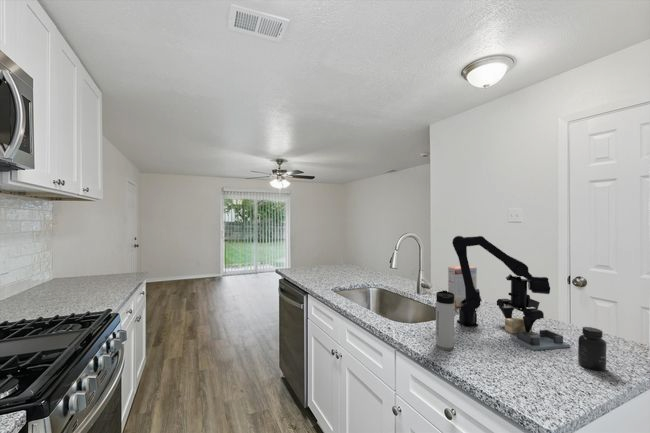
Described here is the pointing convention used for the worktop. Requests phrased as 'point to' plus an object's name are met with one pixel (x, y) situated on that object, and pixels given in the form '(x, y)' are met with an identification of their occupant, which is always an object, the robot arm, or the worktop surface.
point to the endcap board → (540, 340)
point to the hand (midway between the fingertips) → (518, 328)
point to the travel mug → (445, 320)
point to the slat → (515, 325)
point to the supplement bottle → (592, 349)
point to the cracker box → (459, 283)
